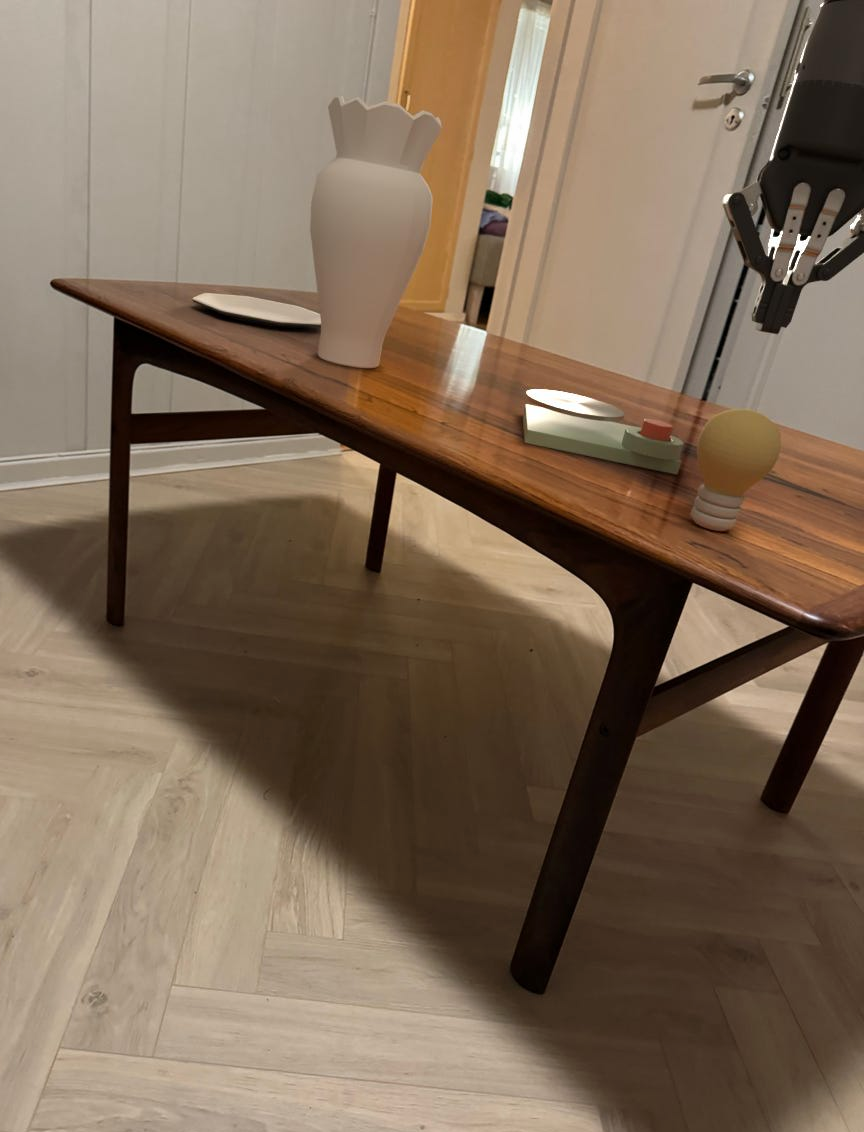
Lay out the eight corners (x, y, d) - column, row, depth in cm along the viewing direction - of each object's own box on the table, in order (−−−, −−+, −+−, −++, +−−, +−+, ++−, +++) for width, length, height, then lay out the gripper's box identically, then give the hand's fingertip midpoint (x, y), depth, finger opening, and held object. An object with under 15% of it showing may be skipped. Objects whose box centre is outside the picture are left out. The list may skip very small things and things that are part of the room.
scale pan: (618, 407, 105) (619, 403, 104) (629, 427, 95) (630, 423, 95) (524, 388, 105) (525, 384, 105) (526, 406, 95) (527, 401, 95)
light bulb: (657, 512, 78) (695, 397, 74) (709, 512, 81) (748, 402, 77) (710, 541, 74) (754, 419, 69) (763, 540, 77) (808, 423, 72)
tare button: (665, 439, 95) (670, 422, 94) (670, 445, 92) (675, 429, 91) (637, 433, 95) (642, 416, 94) (641, 439, 92) (646, 422, 91)
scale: (657, 443, 105) (665, 418, 104) (678, 477, 92) (688, 448, 91) (522, 415, 106) (529, 390, 105) (524, 444, 92) (531, 415, 91)
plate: (170, 300, 137) (171, 289, 136) (276, 308, 149) (277, 298, 149) (243, 330, 124) (244, 318, 124) (351, 335, 137) (353, 325, 137)
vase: (317, 343, 125) (350, 104, 113) (416, 367, 122) (462, 125, 110) (273, 354, 113) (305, 85, 100) (383, 381, 110) (431, 108, 97)
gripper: (769, 63, 63) (692, 321, 71) (961, 94, 62) (864, 352, 70) (745, 79, 70) (678, 313, 77) (919, 107, 69) (834, 341, 76)
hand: (766, 331), depth 73 cm, fingers closed
